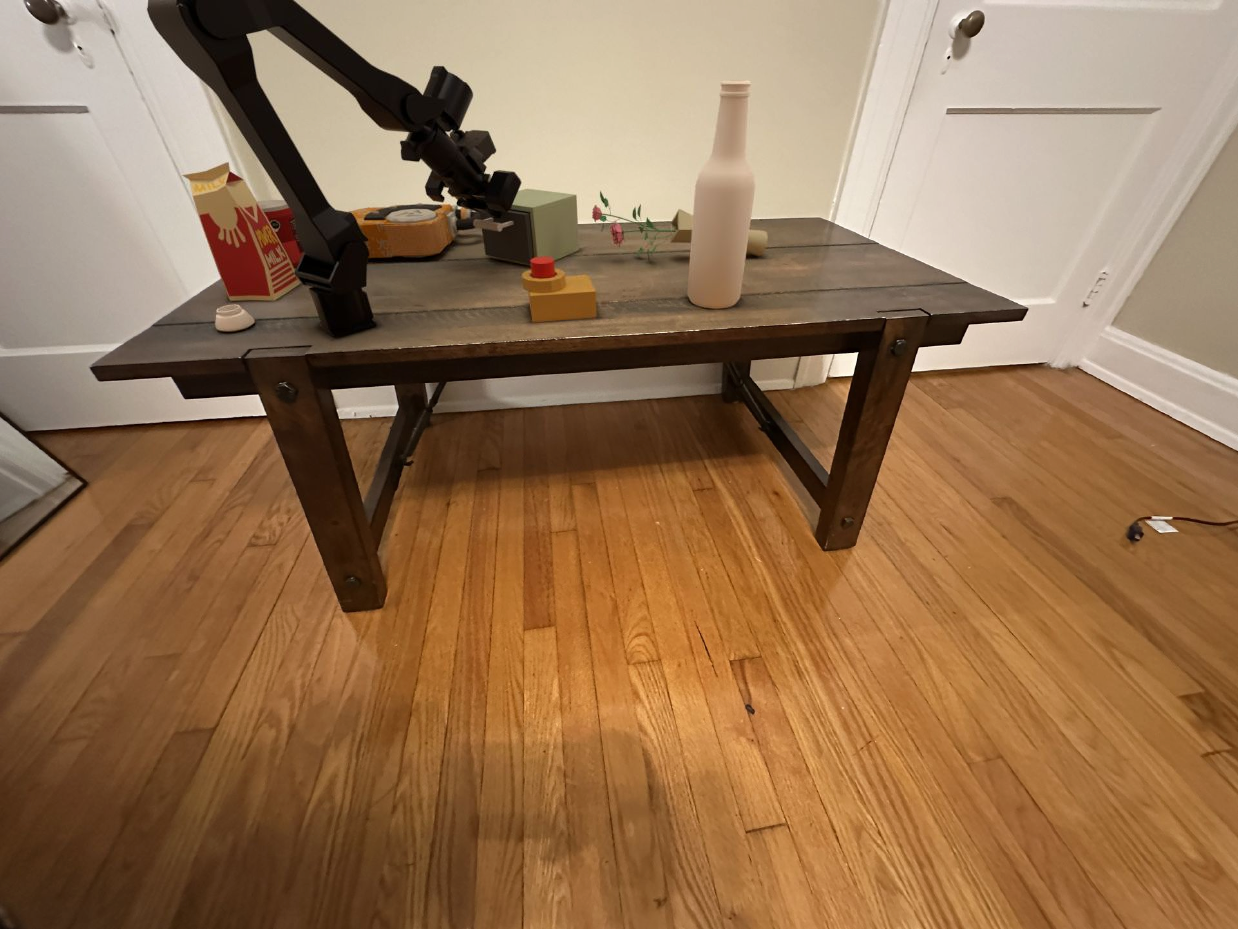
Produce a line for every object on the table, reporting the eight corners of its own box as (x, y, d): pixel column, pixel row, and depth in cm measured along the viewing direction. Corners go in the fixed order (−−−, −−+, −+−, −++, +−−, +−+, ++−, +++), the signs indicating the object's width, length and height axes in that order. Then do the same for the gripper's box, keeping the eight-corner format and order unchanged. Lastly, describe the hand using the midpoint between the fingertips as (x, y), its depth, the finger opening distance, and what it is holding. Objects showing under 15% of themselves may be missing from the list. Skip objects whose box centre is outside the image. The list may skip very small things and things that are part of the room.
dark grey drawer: (514, 270, 99) (507, 219, 94) (468, 261, 104) (460, 212, 99) (568, 248, 111) (565, 202, 106) (525, 240, 116) (521, 196, 111)
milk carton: (301, 282, 97) (255, 157, 85) (276, 301, 90) (223, 166, 78) (250, 283, 97) (197, 158, 85) (222, 301, 90) (159, 167, 77)
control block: (527, 323, 82) (523, 284, 78) (524, 304, 88) (520, 267, 84) (596, 317, 84) (595, 279, 80) (589, 299, 90) (587, 263, 86)
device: (349, 196, 119) (483, 194, 120) (360, 235, 124) (489, 233, 125) (305, 220, 101) (464, 217, 102) (320, 264, 106) (471, 262, 107)
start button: (532, 281, 80) (530, 264, 79) (531, 274, 83) (529, 257, 82) (556, 279, 81) (555, 262, 79) (554, 272, 84) (552, 255, 82)
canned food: (257, 266, 105) (233, 206, 98) (293, 256, 110) (273, 198, 104) (282, 272, 102) (259, 210, 95) (318, 261, 108) (298, 201, 101)
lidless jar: (216, 325, 81) (219, 336, 78) (207, 306, 80) (210, 317, 76) (253, 318, 84) (257, 328, 80) (245, 299, 82) (249, 309, 79)
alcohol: (699, 312, 85) (720, 81, 67) (679, 294, 92) (693, 80, 74) (748, 306, 87) (782, 81, 69) (725, 289, 94) (750, 79, 76)
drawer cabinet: (538, 267, 104) (532, 207, 98) (489, 257, 109) (481, 200, 103) (579, 250, 113) (576, 194, 107) (532, 242, 119) (527, 188, 112)
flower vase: (749, 297, 112) (587, 268, 102) (736, 262, 119) (583, 233, 109) (777, 246, 102) (601, 210, 93) (760, 212, 110) (596, 176, 100)
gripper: (506, 114, 82) (555, 182, 96) (422, 109, 90) (479, 173, 104) (478, 179, 82) (532, 238, 96) (397, 169, 89) (457, 225, 104)
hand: (499, 216), depth 100 cm, fingers closed
